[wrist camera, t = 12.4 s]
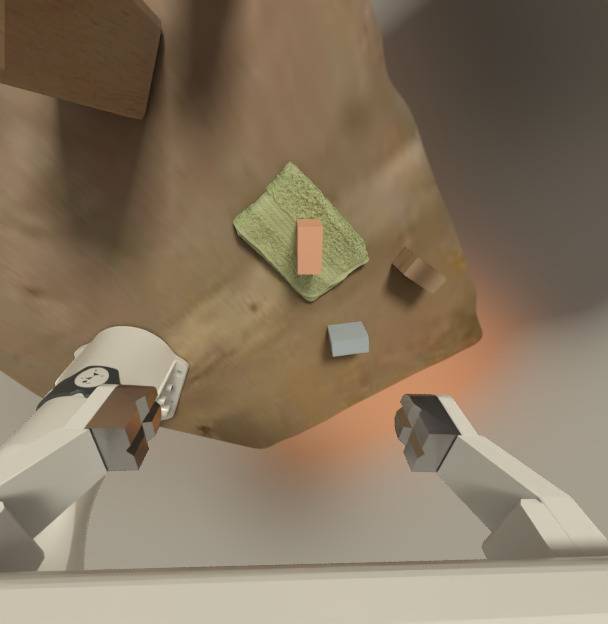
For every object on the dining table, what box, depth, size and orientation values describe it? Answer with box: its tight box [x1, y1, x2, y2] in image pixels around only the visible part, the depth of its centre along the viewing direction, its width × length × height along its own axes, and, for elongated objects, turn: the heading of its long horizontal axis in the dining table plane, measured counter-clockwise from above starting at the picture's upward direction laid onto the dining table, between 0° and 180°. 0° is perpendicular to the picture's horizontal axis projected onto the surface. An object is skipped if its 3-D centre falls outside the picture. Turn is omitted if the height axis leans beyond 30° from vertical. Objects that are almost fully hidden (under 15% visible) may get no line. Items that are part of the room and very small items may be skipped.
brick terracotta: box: [297, 219, 323, 275], centre depth 36 cm, size 6×3×5 cm, turn 179°
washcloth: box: [233, 162, 369, 302], centre depth 40 cm, size 13×18×3 cm
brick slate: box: [328, 321, 369, 357], centre depth 47 cm, size 6×3×5 cm, turn 97°
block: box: [0, 0, 161, 119], centre depth 21 cm, size 10×10×20 cm
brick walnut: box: [392, 248, 448, 294], centre depth 41 cm, size 6×3×5 cm, turn 57°
